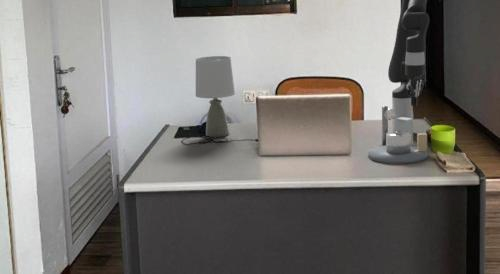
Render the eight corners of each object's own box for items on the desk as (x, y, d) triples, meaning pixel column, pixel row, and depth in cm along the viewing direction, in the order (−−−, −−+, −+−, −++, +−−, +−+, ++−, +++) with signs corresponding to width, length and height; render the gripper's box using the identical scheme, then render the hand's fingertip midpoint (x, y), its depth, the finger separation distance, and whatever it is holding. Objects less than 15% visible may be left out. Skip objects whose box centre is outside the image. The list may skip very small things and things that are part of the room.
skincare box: (396, 145, 330) (396, 118, 328) (402, 143, 333) (402, 116, 330) (406, 147, 326) (406, 120, 323) (413, 145, 328) (413, 118, 325)
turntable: (363, 150, 323) (362, 130, 321) (419, 147, 324) (419, 127, 322) (374, 165, 299) (374, 143, 297) (435, 161, 300) (435, 140, 298)
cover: (383, 149, 316) (383, 129, 314) (407, 148, 317) (407, 128, 315) (389, 155, 306) (389, 135, 304) (414, 153, 307) (414, 133, 305)
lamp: (191, 138, 362) (186, 60, 353) (208, 129, 378) (204, 55, 370) (227, 140, 354) (222, 61, 346) (242, 131, 371) (239, 55, 363)
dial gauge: (383, 145, 330) (382, 104, 326) (403, 148, 324) (403, 106, 319) (373, 149, 324) (372, 108, 320) (393, 152, 318) (393, 110, 313)
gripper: (415, 66, 295) (414, 109, 299) (431, 61, 305) (430, 103, 309) (398, 64, 300) (397, 107, 304) (414, 60, 309) (414, 101, 314)
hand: (414, 105), depth 306 cm, fingers closed
